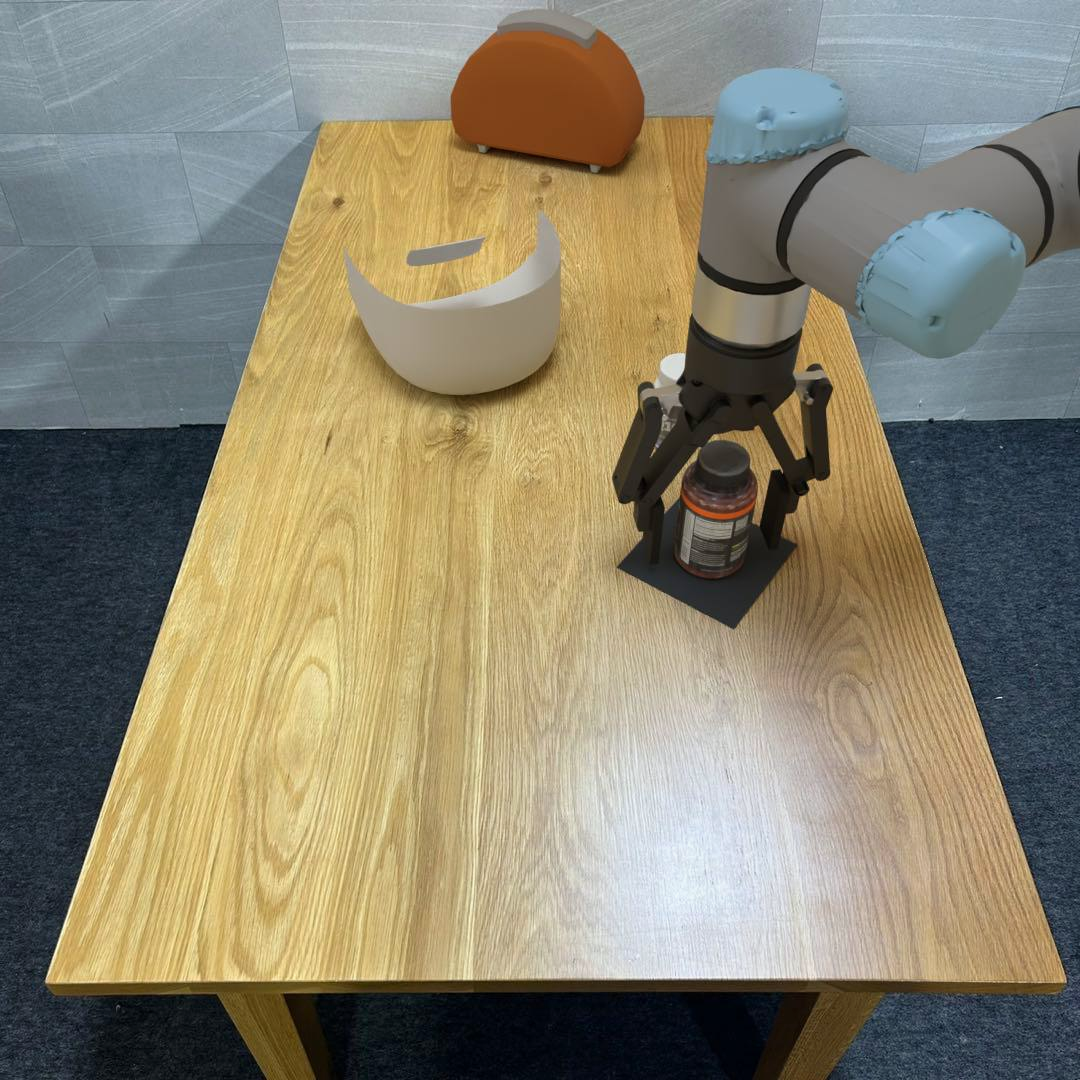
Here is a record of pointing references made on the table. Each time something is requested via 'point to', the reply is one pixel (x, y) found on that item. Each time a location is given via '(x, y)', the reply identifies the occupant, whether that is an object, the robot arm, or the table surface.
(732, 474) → the supplement bottle
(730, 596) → the mat
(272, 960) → the table surface
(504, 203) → the table surface
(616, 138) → the orange toaster
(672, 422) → the pill bottle
